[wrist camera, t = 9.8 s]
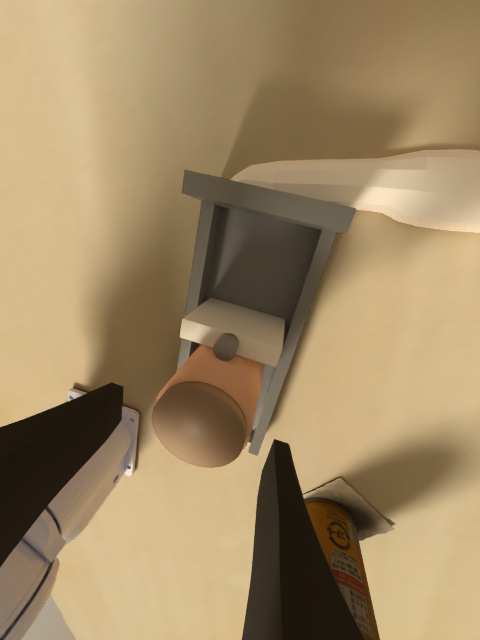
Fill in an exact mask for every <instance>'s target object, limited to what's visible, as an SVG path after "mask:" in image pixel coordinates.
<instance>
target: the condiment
mask: <svg viewBox="0 0 480 640" xmlns="http://www.w3.org/2000/svg"><path fill="white" fill-rule="evenodd" d="M303 497H304V500H305V503H306V506H307V509H308V512H309V515H310V518H311V521H312V523H313V526H314V529H315V531H316V534H317V537H318V539H319V542H320V544H321V547H322V549H323V551H324V554H325V556H326V558H327V561H328V563H329V565H330V568H331V570H332V572H333V574H334V577H335V579H336V581H337V583H338V585H339V588H340V590H341V592H342V594H343V596H344V598H345V600H346V602H347V604H348V606H349V608H350V610H351V612H352V614H353V616H354V618H355V620H356V622H357V624H358V626H359V628H360V630H361V632H362V634H363V636H364V638H365V640H380V638H379V634H378V629H377V623H376V619H375V615H374V610H373V605H372V601H371V596H370V592H369V587H368V582H367V577H366V573H365V568H364V563H363V559H362V554H361V549H360V545H359V541H361V540H364V539H366V538H368V537H371V536H373V535H377V534H382V533H386V532H388V531H391V530H394V528H393V527H392V526H391V525H390V524H389V523H388V522H387V521H386V520H385V519H384V518H383V517H382V516H381V515H380V514H379V513H378V512H377V511H376V510H375V509H374V508H373V507H372V506H371V505H370V504H369V503H368V502H366V501H365V500H364V498H363V497H362V496H360V495H359V494H358V493H357V492H355V491H354V489H353V488H352V487H351V486H349V485H348V484H347V483H346V482H345V481H344V480H343V479H341V478H338V479H336V480H335V481H333V482H330V483H328V484H326V485H325V486H323V487H320V488H318V489H316V490H314V491H311V492H309V493H307V494H304V495H303ZM332 498H335V499H332ZM337 498H339V499H340V500H337ZM355 527H357V528H355Z"/></svg>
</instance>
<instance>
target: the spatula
mask: <svg viewBox="0 0 480 640" xmlns="http://www.w3.org/2000/svg"><path fill="white" fill-rule="evenodd" d="M230 180H232V181H237V182H241V183H246V184H250V185H255V186H259V187H264V188H268V189H273V190H277V191H282V192H286V193H291V194H295V195H300V196H304V197H309V198H313V199H318V200H322V201H326V202H331V203H335V204H340V205H344V206H349V207H353V208H356V210H365V211H371V212H378V213H383V214H385V215H386V216H388V217H390V218H392V219H394V220H396V221H398V222H402V223H406V224H410V225H414V226H418V227H425V228H433V229H441V230H450V231H463V232H476V233H480V150H465V149H449V150H422V151H416V152H411V153H405V154H400V155H395V156H389V157H384V158H365V159H320V160H289V161H275V162H269V163H262V164H256V165H250V166H249V167H247V168H245V169H244V170H242V171H240V172H239V173H237V174H236V175H234V176H233V177H232V178H231V179H230Z"/></svg>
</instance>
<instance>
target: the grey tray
mask: <svg viewBox="0 0 480 640" xmlns="http://www.w3.org/2000/svg"><path fill="white" fill-rule="evenodd" d="M182 193H183V194H186V195H189V196H191V197H194V198H196V199H199V200H201V201H202V204H201V211H200V217H199V224H198V231H197V237H196V244H195V251H194V257H193V264H192V271H191V277H190V284H189V291H188V298H187V304H186V311H185V316H186V315H188V314H189V313H191V312H192V311H193V310H195V309H196V308H197V307H199V306H200V305H201V304H203V303H204V302H205V301H207V300H208V299H209V298H214V299H217V300H221V301H224V302H228V303H231V304H235V305H238V306H242V307H245V308H249V309H252V310H256V311H259V312H263V313H266V314H270V315H273V316H277V317H280V318H284V319H285V327H284V338H283V349H282V352H281V355H280V358H279V361H278V364H277V367H274V366H271V365H267V364H266V365H265V369H264V374H263V379H262V384H261V388H260V393H259V398H258V402H257V407H256V412H255V417H254V421H253V426H252V431H251V435H250V439H249V441H248V443H247V445H250V447H249V453H251V454H254V455H257V456H258V453H259V450H260V447H261V444H262V442H263V439H264V436H265V433H266V430H267V428H268V425H269V422H270V419H271V416H272V414H273V411H274V408H275V405H276V402H277V399H278V397H279V394H280V391H281V388H282V385H283V383H284V380H285V377H286V374H287V371H288V369H289V366H290V363H291V360H292V357H293V355H294V352H295V349H296V346H297V343H298V340H299V338H300V335H301V332H302V329H303V326H304V324H305V321H306V318H307V315H308V312H309V310H310V307H311V304H312V301H313V298H314V296H315V293H316V290H317V287H318V284H319V281H320V279H321V276H322V273H323V270H324V267H325V265H326V262H327V259H328V256H329V253H330V251H331V248H332V245H333V242H334V239H335V237H336V234H337V233H340V232H348V229H349V226H350V224H351V221H352V218H353V215H354V213H355V210H356V208H353V207H349V206H344V205H340V204H335V203H331V202H326V201H322V200H318V199H313V198H309V197H304V196H300V195H295V194H291V193H286V192H282V191H277V190H273V189H268V188H264V187H259V186H255V185H250V184H246V183H241V182H237V181H232V180H228V179H224V178H219V177H215V176H210V175H206V174H201V173H197V172H192V171H188V170H185V171H184V180H183V188H182ZM199 345H200V343H196V342H193V341H190V340H187V339H183V338H181V344H180V351H179V358H178V365H177V371H178V370H179V369H180V368H181V366H182V365H183V364H184V363H185V362H186V361H187V359H188V358H189V357H190V356H191V355H192V354H193V352H194V351H195V350H196V349H197V348H198V347H199ZM177 371H176V372H177Z"/></svg>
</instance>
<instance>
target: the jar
mask: <svg viewBox="0 0 480 640" xmlns="http://www.w3.org/2000/svg"><path fill="white" fill-rule="evenodd" d="M265 365H266V364H264V363H261V362H258V361H254V360H251V359H248V358H245V357H242V356H238V355H235V356H234V357H233V358H232V359H231V360H229V361H222V360H220V359H218V358H217V357H216V356H215V354H214V352H213V347H209V346H206V345H203V344H200V345H199V347H198V348H197V349H196V350H195V351H194V352H193V354H192V355H191V356H190V357H189V358H188V359H187V361H186V362H185V363H184V364H183V365H182V366H181V368H180V369H179V370H178V371H177V372H176V373H175V375H174V376H173V377H172V378H171V379H170V380H169V382H168V383H167V384H166V385H165V386H164V388H163V389H162V390H161V391H160V393H159V394H158V397H157V399H156V403H155V406H154V409H153V413H152V424H153V428H154V431H155V433H156V435H157V437H158V439H159V440H160V442H161V443H162V445H163V446H164V447H165V448H166V449H167V450H168V451H169V452H170V453H172V454H173V455H174V456H176V457H177V458H179V459H181V460H182V461H184V462H187V463H189V464H192V465H195V466H199V467H207V468H213V467H221V466H224V465H227V464H229V463H231V462H232V461H234V460H235V459H236V458H237V457H238V456H239V455H240V453H241V451H242V450H243V449H244V448H245V446H246V445H247V443H248V441H249V439H250V435H251V431H252V426H253V421H254V417H255V412H256V407H257V402H258V398H259V393H260V388H261V384H262V379H263V374H264V369H265Z"/></svg>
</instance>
